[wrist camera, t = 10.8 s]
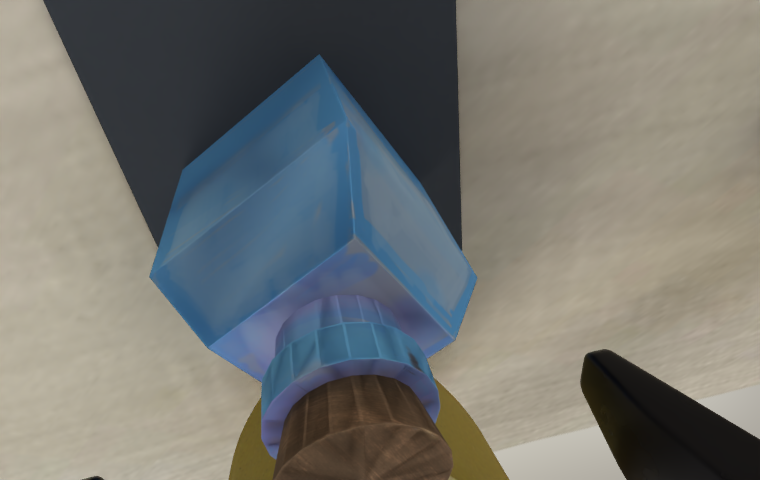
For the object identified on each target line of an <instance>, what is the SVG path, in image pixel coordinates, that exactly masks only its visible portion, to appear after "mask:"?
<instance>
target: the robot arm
mask: <svg viewBox="0 0 760 480" xmlns="http://www.w3.org/2000/svg"><path fill="white" fill-rule="evenodd" d="M580 383H581V389H582V392H583V394H584V396H585V398H586V400H587V402H588V404H589V406H590V408H591V410H592V413H593V415H594V417H595V419H596V421H597V423H598V425H599V427H600V429H601V431H602V433H603V435H604V437H605V439H606V441H607V444H608V445H609V448H610V450H611V452H612V454H613V456H614V458H615V459H616V462H617V464H618V466H619V467H620V469H621V470H622V473H623V474H624V476H625V478H626V479H627V480H760V439H758V438H757V437H755V436H753V435H751V434H750V433H748V432H747V431H745V430H743V429H741V428H740V427H738V426H736V425H735V424H733V423H731V422H729V421H728V420H726V419H725V418H723V417H721V416H720V415H718V414H716V413H715V412H713V411H711V410H710V409H708V408H706V407H704V406H703V405H701V404H699V403H698V402H696V401H695V400H693V399H691V398H689V397H688V396H686V395H684V394H683V393H681V392H679V391H678V390H676V389H674V388H673V387H671V386H669V385H668V384H666V383H664V382H663V381H661V380H659V379H658V378H656V377H654V376H653V375H651V374H649V373H648V372H646V371H644V370H643V369H641V368H639V367H637V366H636V365H634V364H632V363H631V362H629V361H627V360H626V359H624V358H622V357H621V356H619V355H617V354H616V353H614V352H612V351H610V350H607V349H602V350H598V351H594V352H590V353H587V354H586V356H585V358H584V363H583V368H582V374H581V380H580ZM82 480H104V479H103V478H102V477H99V476H94V477H90V478H86V479H82Z"/></svg>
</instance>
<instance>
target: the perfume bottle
mask: <svg viewBox="0 0 760 480" xmlns="http://www.w3.org/2000/svg"><path fill="white" fill-rule="evenodd" d="M149 277H150V278H151V280H152V281H153V282H154V283H155V284H156V286H157V287H158V288H159V289H160V291H161V292H162V293H163V294H164V295H165V297H166V298H167V299H168V300H169V302H170V303H171V304H172V305H173V306H174V308H175V309H176V310H177V311H178V313H179V314H180V315H181V316H182V317H183V319H184V320H185V321H186V322H187V324H188V325H189V326H190V327H191V328H192V330H193V331H194V332H195V333H196V335H197V336H198V337H199V338H200V339H201V341H202V342H203V343H204V344H205V346H206V347H207V348H208V349H210V350H211V351H213V352H214V353H216V354H218V355H219V356H221V357H222V358H224V359H225V360H227V361H229V362H230V363H232V364H233V365H235V366H237V367H238V368H240V369H241V370H243V371H244V372H246V373H248V374H249V375H251V376H252V377H254V378H255V379H257V380H259V381H260V382H262V394H261V439H262V441H263V443H264V445H265V447H266V449H267V451H268V453H269V455H270V456H272V457H273V458H274V459H275V460H276V464H275V469H274V474H273V479H272V480H448V479H449V477H450V474H451V472H452V469H453V457H452V450H451V449H450V447H449V445H448V444H447V442H446V441H445V439H444V438H443V436H442V434H441V433H440V431H439V430H438V428H437V426H436V425H435V423H436V420H437V417H438V414H439V411H440V400H439V393H438V389H437V386H436V383H435V381H434V378H433V375H432V373H431V370H430V367H429V364H428V362H427V358H429V357H430V356H432V355H433V354H435V353H436V352H438V351H440V350H441V349H443V348H444V347H446V346H447V345H449V344H450V343H452V342H453V341H455V339H456V337H457V334H458V331H459V328H460V325H461V323H462V320H463V317H464V314H465V311H466V308H467V306H468V303H469V300H470V297H471V294H472V292H473V289H474V286H475V283H476V280H477V276H476V275H475V273H474V271H473V270H472V268H471V266H470V265H469V263H468V261H467V260H466V258H465V256H464V255H463V253H462V251H461V250H460V248H459V246H458V245H457V243H456V241H455V240H454V238H453V236H452V235H451V233H450V231H449V230H448V228H447V226H446V225H445V223H444V221H443V220H442V218H441V216H440V214H439V213H438V211H437V209H436V208H435V206H434V204H433V203H432V201H431V199H430V198H429V196H428V194H427V193H426V191H425V189H424V188H423V186H422V184H421V183H420V181H419V180H418V179H417V178H416V176H415V175H414V174H413V173H412V171H411V170H410V169H409V167H408V166H407V165H406V164H405V162H404V161H403V160H402V159H401V157H400V156H399V155H398V153H397V152H396V151H395V150H394V148H393V147H392V146H391V145H390V143H389V142H388V141H387V140H386V138H385V137H384V136H383V134H382V133H381V132H380V131H379V129H378V128H377V127H376V126H375V124H374V123H373V122H372V120H371V119H370V118H369V117H368V115H367V114H366V113H365V112H364V110H363V109H362V108H361V106H360V105H359V104H358V103H357V101H356V100H355V99H354V98H353V96H352V95H351V94H350V93H349V91H348V90H347V89H346V87H345V86H344V85H343V84H342V82H341V81H340V80H339V79H338V77H337V76H336V75H335V73H334V72H333V71H332V70H331V68H330V67H329V66H328V65H327V63H326V62H325V61H324V59H323V58H322V57H321V56H320V54H319V55H318V56H316V57H315V58H314V59H313V60H312V61H310V62H309V63H308V64H307V65H306V66H305V67H303V68H302V69H301V70H300V71H299V72H298V73H296V74H295V75H294V76H293V77H292V78H290V79H289V80H288V81H287V82H286V83H285V84H283V85H282V86H281V87H280V88H279V89H277V90H276V91H275V92H274V93H273V94H272V95H270V96H269V97H268V98H267V99H266V100H264V101H263V102H262V103H261V104H260V105H259V106H257V107H256V108H255V109H254V110H253V111H251V112H250V113H249V114H248V115H247V116H246V117H244V118H243V119H242V120H241V121H240V122H238V123H237V124H236V125H235V126H234V127H233V128H231V129H230V130H229V131H228V132H227V133H225V134H224V135H223V136H222V137H221V138H220V139H218V140H217V141H216V142H215V143H214V144H212V145H211V146H210V147H209V148H208V149H207V150H205V151H204V152H203V153H202V154H201V155H199V156H198V157H197V158H196V159H195V160H194V161H192V162H191V163H190V164H189V165H188V166H186V167H185V168H184V169H183V170H182V173H181V177H180V180H179V183H178V186H177V189H176V193H175V196H174V199H173V202H172V206H171V209H170V212H169V215H168V218H167V222H166V225H165V228H164V231H163V235H162V238H161V241H160V244H159V247H158V251H157V254H156V257H155V260H154V263H153V267H152V270H151V273H150V276H149Z"/></svg>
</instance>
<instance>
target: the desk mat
mask: <svg viewBox="0 0 760 480" xmlns="http://www.w3.org/2000/svg"><path fill="white" fill-rule="evenodd" d="M43 1H44V3H45V5H46V7H47V9H48V12H49V14H50V16H51V18H52V20H53V22H54V25H55V27H56V29H57V31H58V33H59V35H60V37H61V40H62V42H63V44H64V46H65V48H66V50H67V53H68V55H69V57H70V59H71V61H72V63H73V65H74V68H75V70H76V72H77V74H78V76H79V78H80V81H81V83H82V85H83V87H84V89H85V91H86V93H87V96H88V98H89V100H90V102H91V104H92V106H93V109H94V111H95V113H96V115H97V117H98V119H99V121H100V124H101V126H102V128H103V130H104V132H105V134H106V137H107V139H108V141H109V143H110V145H111V147H112V149H113V152H114V154H115V156H116V158H117V160H118V162H119V165H120V167H121V169H122V171H123V173H124V175H125V177H126V180H127V182H128V184H129V186H130V188H131V190H132V193H133V195H134V197H135V199H136V201H137V203H138V205H139V208H140V210H141V212H142V214H143V216H144V218H145V221H146V223H147V225H148V227H149V229H150V231H151V233H152V236H153V238H154V240H155V242H156V244H157V246H158V247H159V244H160V241H161V238H162V235H163V231H164V228H165V225H166V222H167V218H168V215H169V212H170V209H171V206H172V202H173V199H174V196H175V193H176V189H177V186H178V183H179V180H180V177H181V173H182V170H183V169H184V168H185V167H186V166H188V165H189V164H190V163H191V162H192V161H194V160H195V159H196V158H197V157H198V156H199V155H201V154H202V153H203V152H204V151H205V150H207V149H208V148H209V147H210V146H211V145H212V144H214V143H215V142H216V141H217V140H218V139H220V138H221V137H222V136H223V135H224V134H225V133H227V132H228V131H229V130H230V129H231V128H233V127H234V126H235V125H236V124H237V123H238V122H240V121H241V120H242V119H243V118H244V117H246V116H247V115H248V114H249V113H250V112H251V111H253V110H254V109H255V108H256V107H257V106H259V105H260V104H261V103H262V102H263V101H264V100H266V99H267V98H268V97H269V96H270V95H272V94H273V93H274V92H275V91H276V90H277V89H279V88H280V87H281V86H282V85H283V84H285V83H286V82H287V81H288V80H289V79H290V78H292V77H293V76H294V75H295V74H296V73H298V72H299V71H300V70H301V69H302V68H303V67H305V66H306V65H307V64H308V63H309V62H310V61H312V60H313V59H314V58H315V57H316V56H318V55H319V54H320V56H321V57H322V58H323V59H324V61H325V62H326V63H327V65H328V66H329V67H330V68H331V70H332V71H333V72H334V73H335V75H336V76H337V77H338V79H339V80H340V81H341V82H342V84H343V85H344V86H345V87H346V89H347V90H348V91H349V93H350V94H351V95H352V96H353V98H354V99H355V100H356V101H357V103H358V104H359V105H360V106H361V108H362V109H363V110H364V112H365V113H366V114H367V115H368V117H369V118H370V119H371V120H372V122H373V123H374V124H375V126H376V127H377V128H378V129H379V131H380V132H381V133H382V134H383V136H384V137H385V138H386V140H387V141H388V142H389V143H390V145H391V146H392V147H393V148H394V150H395V151H396V152H397V153H398V155H399V156H400V157H401V159H402V160H403V161H404V162H405V164H406V165H407V166H408V167H409V169H410V170H411V171H412V173H413V174H414V175H415V176H416V178H417V179H418V180H419V181H420V183H421V184H422V186H423V188H424V189H425V191H426V193H427V194H428V196H429V198H430V199H431V201H432V203H433V204H434V206H435V208H436V209H437V211H438V213H439V214H440V216H441V218H442V220H443V221H444V223H445V225H446V226H447V228H448V230H449V231H450V233H451V235H452V236H453V238H454V240H455V241H456V243H457V245H458V246H459V248H460V250H461V251H462V231H461V191H460V151H459V111H458V71H457V31H456V0H43Z"/></svg>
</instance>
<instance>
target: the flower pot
mask: <svg viewBox="0 0 760 480" xmlns="http://www.w3.org/2000/svg"><path fill="white" fill-rule="evenodd" d="M434 381H435V383H436V386H437V389H438V393H439V400H440V411H439V414H438V417H437V420H436V423H435V425H436V426H437V428H438V430H439V431H440V433H441V434H442V436H443V438H444V439H445V441H446V442H447V444H448V445H449V447H450V449H451V450H452V457H453V469H452V472H451V474H450V477H449V479H448V480H509V478H508V477H507V475H506V473H505V472H504V470H503V468H502V467H501V465H500V463H499V462H498V460H497V458H496V457H495V455H494V453H493V452H492V450H491V448H490V446H489V445H488V443H487V441H486V440H485V438H484V436H483V435H482V433H481V431H480V430H479V428H478V427H477V425H476V424H475V422H474V421H473V419H472V418H471V417H470V415H469V414H468V413H467V412H466V410H465V409H464V408H463V407H462V406H461V404H460V403H459V402H458V401H457V400H456V399H455V398H454V397H453V396H452V395H451V394H450V393H449V392H448V391H447V390H446V389H445V388H444V387H443V386H442V385H441V384H440V383H439V382H438V381H437V380H436V379H434ZM275 464H276V460H275V459H274V458H273V457H272V456H270V455H269V453H268V451H267V449H266V447H265V445H264V443H263V441H262V439H261V399H260V400H259V401H258V403H257V404H256V406H255V408H254V409H253V411H252V413H251V415H250V416H249V418H248V420H247V422H246V424H245V426H244V428H243V431H242V433H241V435H240V438H239V441H238V444H237V446H236V450H235V453H234V457H233V461H232V465H231V470H230V475H229V480H272V479H273V474H274V469H275Z"/></svg>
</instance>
